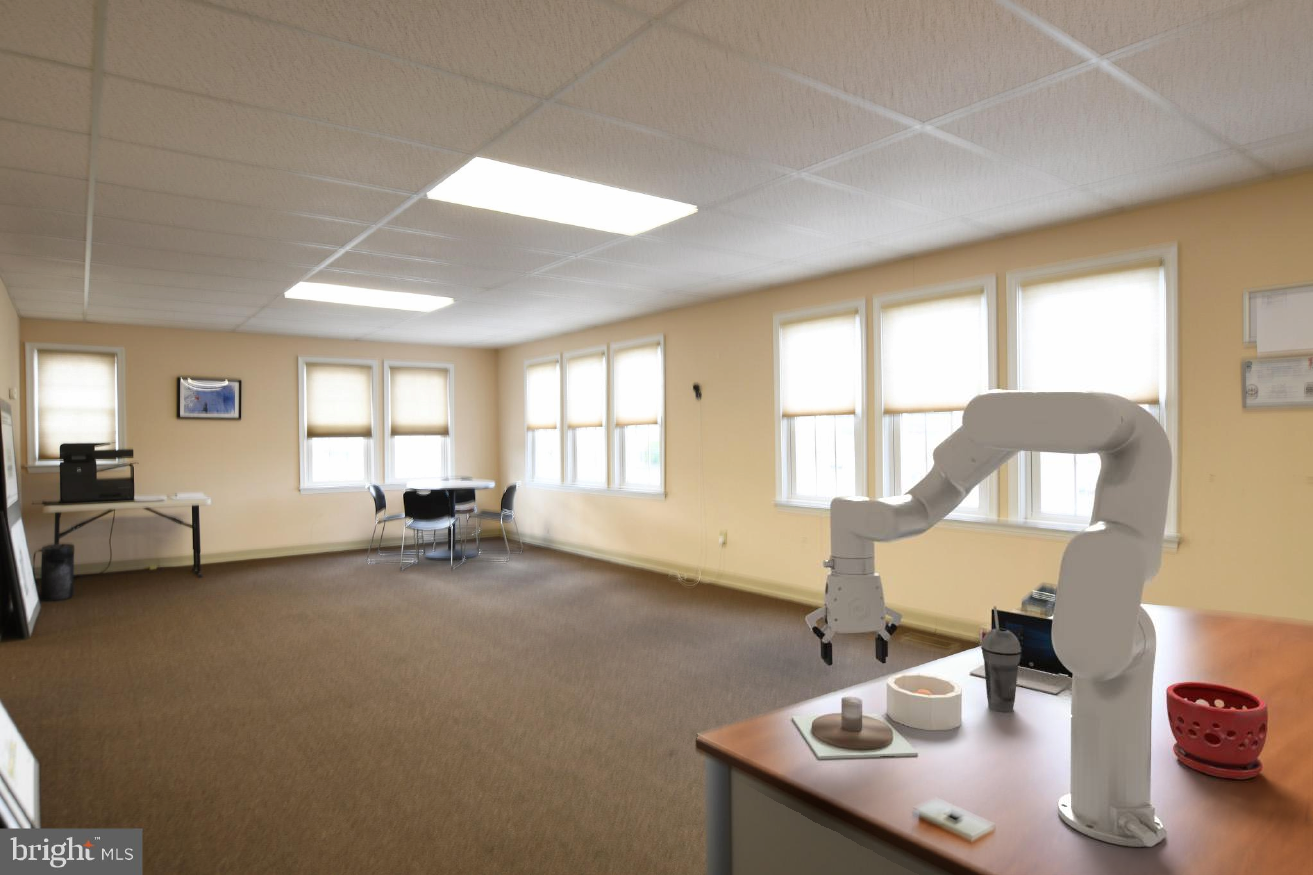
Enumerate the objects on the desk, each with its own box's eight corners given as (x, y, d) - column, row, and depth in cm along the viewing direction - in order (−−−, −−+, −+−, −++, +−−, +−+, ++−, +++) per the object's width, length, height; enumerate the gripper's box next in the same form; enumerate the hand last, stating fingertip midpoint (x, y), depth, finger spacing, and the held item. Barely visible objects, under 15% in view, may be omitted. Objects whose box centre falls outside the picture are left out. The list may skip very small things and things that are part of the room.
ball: (938, 714, 139) (938, 693, 139) (918, 715, 139) (918, 694, 139) (929, 706, 143) (929, 686, 143) (909, 707, 143) (909, 686, 143)
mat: (917, 755, 124) (917, 752, 124) (818, 758, 123) (818, 755, 123) (879, 716, 141) (879, 713, 141) (792, 718, 140) (792, 716, 140)
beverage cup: (1026, 716, 141) (1026, 612, 141) (985, 713, 143) (986, 610, 142) (1015, 702, 148) (1016, 603, 148) (976, 699, 150) (977, 601, 149)
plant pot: (1169, 743, 129) (1170, 674, 129) (1266, 764, 121) (1267, 692, 121) (1161, 769, 119) (1162, 695, 119) (1267, 795, 111) (1268, 715, 111)
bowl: (974, 729, 135) (974, 696, 135) (904, 731, 134) (904, 698, 134) (941, 702, 148) (941, 672, 148) (877, 704, 147) (877, 674, 147)
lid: (906, 749, 125) (906, 714, 125) (825, 751, 124) (825, 716, 124) (875, 717, 139) (875, 685, 139) (802, 719, 138) (802, 687, 138)
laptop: (968, 675, 165) (969, 617, 165) (991, 663, 174) (991, 608, 174) (1056, 696, 152) (1056, 633, 152) (1075, 682, 161) (1076, 622, 161)
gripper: (811, 570, 127) (812, 670, 127) (908, 568, 128) (910, 666, 128) (799, 563, 134) (800, 658, 134) (891, 561, 136) (893, 654, 136)
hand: (854, 662), depth 131 cm, fingers open, 9 cm apart
